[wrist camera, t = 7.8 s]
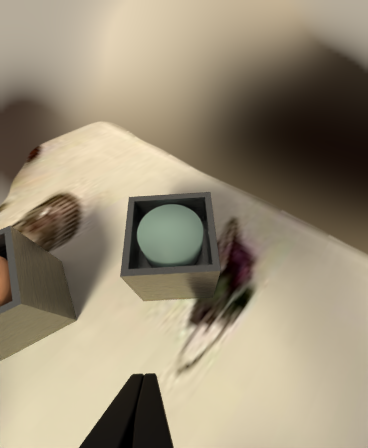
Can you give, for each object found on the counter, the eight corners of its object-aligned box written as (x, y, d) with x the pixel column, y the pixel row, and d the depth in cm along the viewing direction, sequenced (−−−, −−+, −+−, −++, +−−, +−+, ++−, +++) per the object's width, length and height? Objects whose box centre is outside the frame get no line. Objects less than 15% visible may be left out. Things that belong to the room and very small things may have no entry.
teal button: (204, 271, 18) (206, 260, 16) (141, 275, 18) (134, 264, 16) (199, 218, 21) (200, 202, 19) (144, 221, 21) (139, 206, 19)
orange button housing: (76, 320, 22) (21, 303, 15) (1, 360, 20) (-100, 362, 13) (61, 261, 25) (10, 225, 18) (-5, 292, 23) (-88, 265, 16)
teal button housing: (212, 297, 22) (220, 271, 15) (143, 301, 22) (120, 276, 15) (206, 235, 26) (210, 192, 19) (146, 239, 26) (129, 197, 19)
